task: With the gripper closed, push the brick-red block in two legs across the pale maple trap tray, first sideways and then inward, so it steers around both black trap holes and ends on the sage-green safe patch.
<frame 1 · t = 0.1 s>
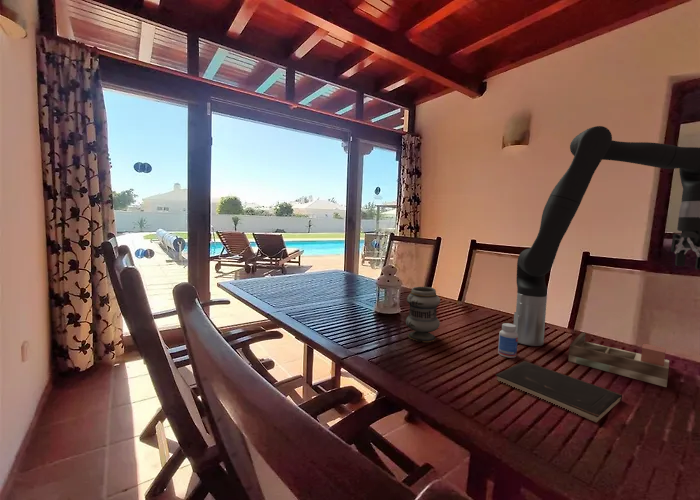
hand: (689, 267, 105), 29 cm above the table, tool pointing down, fingers open, 8 cm apart
trap tray: (617, 363, 101), on the table
apothecary jar: (421, 338, 121), on the table
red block: (652, 361, 99), point 2 cm above the table, touching trap tray
hardcover book: (554, 392, 84), on the table
pill bottle: (507, 355, 106), on the table
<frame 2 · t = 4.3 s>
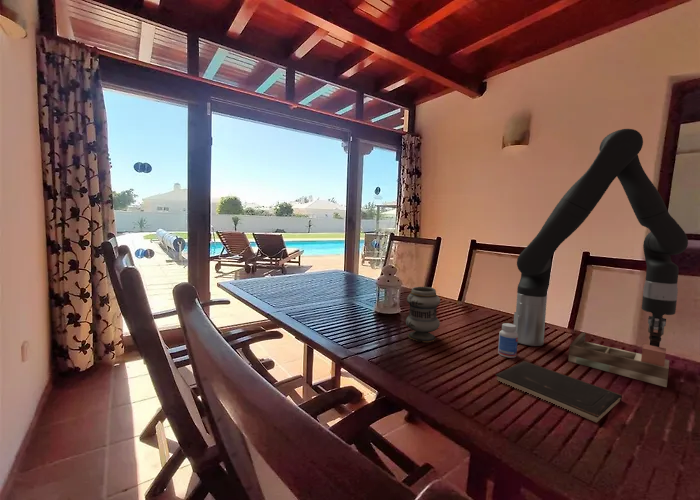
hand: (653, 352, 102), 4 cm above the table, tool pointing down, fingers closed
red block: (652, 361, 98), point 2 cm above the table, touching gripper, trap tray
everything else where it was.
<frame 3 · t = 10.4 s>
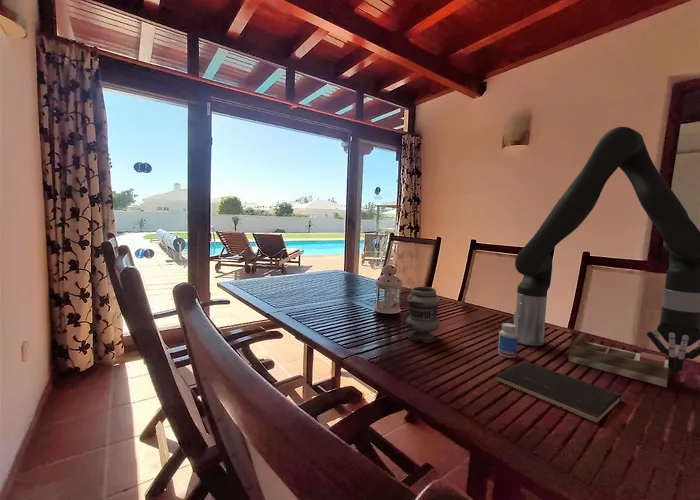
hand: (674, 370, 89), 3 cm above the table, tool pointing down, fingers closed
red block: (651, 370, 92), point 2 cm above the table, touching gripper, trap tray
everything else where it was.
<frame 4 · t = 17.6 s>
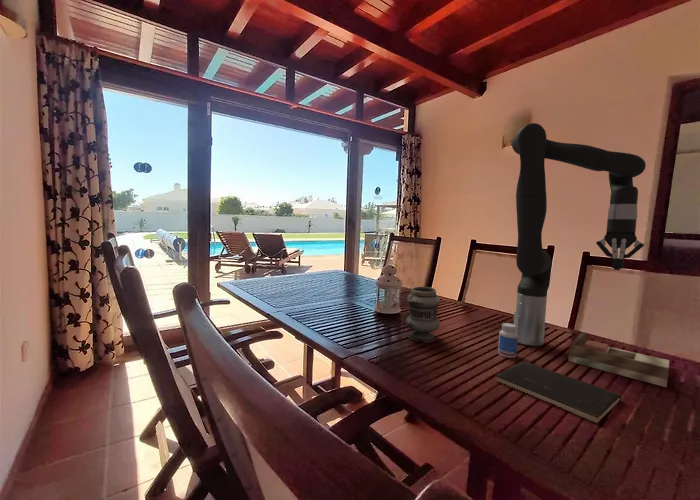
hand: (617, 269, 112), 27 cm above the table, tool pointing down, fingers closed
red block: (595, 356, 101), point 2 cm above the table, touching trap tray
everything else where it was.
at the end: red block inside the target area (0.5 cm from its centre), point 2.0 cm above the table; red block tilted 0°; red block moved 15.6 cm from its start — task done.
